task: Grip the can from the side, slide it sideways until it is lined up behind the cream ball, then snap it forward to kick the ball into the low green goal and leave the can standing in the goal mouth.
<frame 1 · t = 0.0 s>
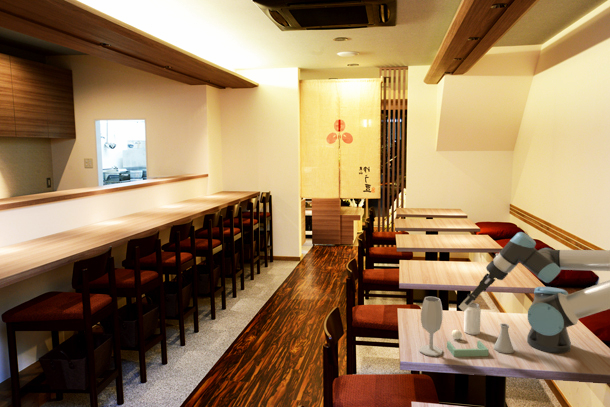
hand: (465, 304, 179), 15 cm above the table, tool tilted 35°, fingers open, 13 cm apart
can: (471, 332, 189), on the table
goal: (466, 351, 171), on the table
flask: (503, 350, 172), on the table
ball: (456, 334, 182), point 2 cm above the table
wineglass: (431, 352, 171), on the table
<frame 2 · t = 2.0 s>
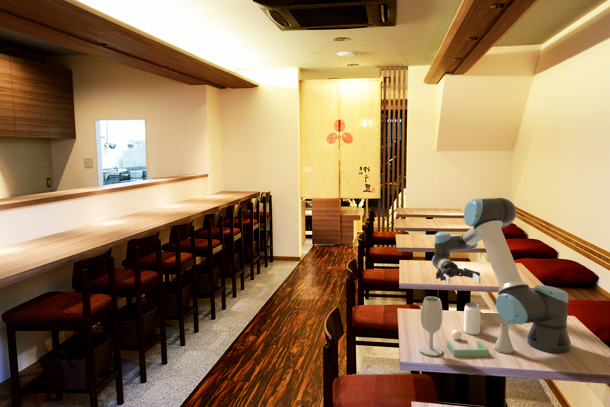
hand: (464, 280, 197), 20 cm above the table, tool horizontal, fingers open, 13 cm apart
nothing on the table moved.
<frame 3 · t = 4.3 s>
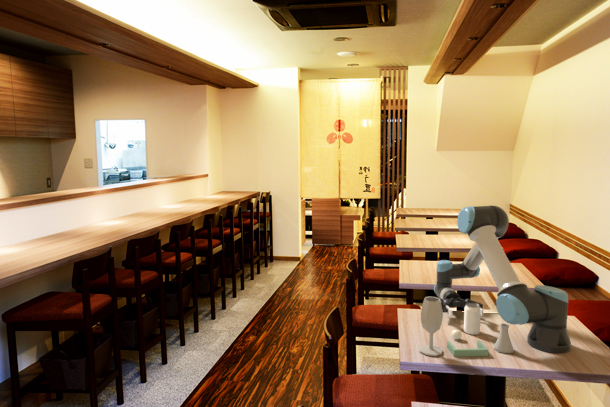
hand: (467, 313, 194), 6 cm above the table, tool horizontal, fingers open, 13 cm apart
nothing on the table moved.
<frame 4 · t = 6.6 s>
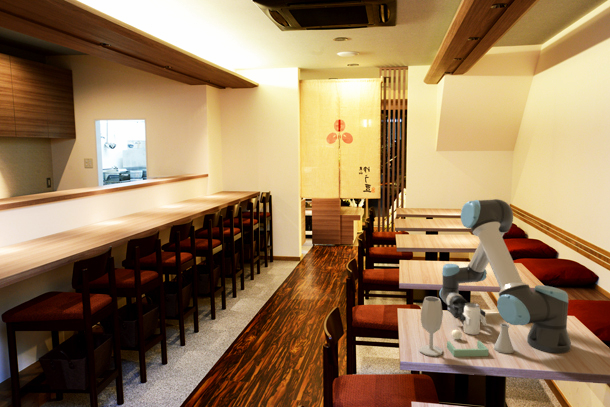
hand: (477, 321, 183), 7 cm above the table, tool horizontal, fingers closed on can, 6 cm apart
can: (471, 332, 189), on the table, touching gripper
everything else where it was.
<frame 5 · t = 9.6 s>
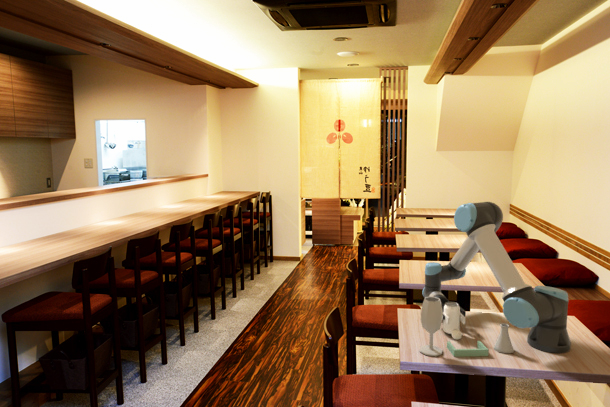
hand: (456, 320, 181), 8 cm above the table, tool horizontal, fingers closed on can, 6 cm apart
can: (451, 331, 187), point 1 cm above the table, touching ball, gripper
ball: (456, 334, 182), point 2 cm above the table, touching can
everything else where it was.
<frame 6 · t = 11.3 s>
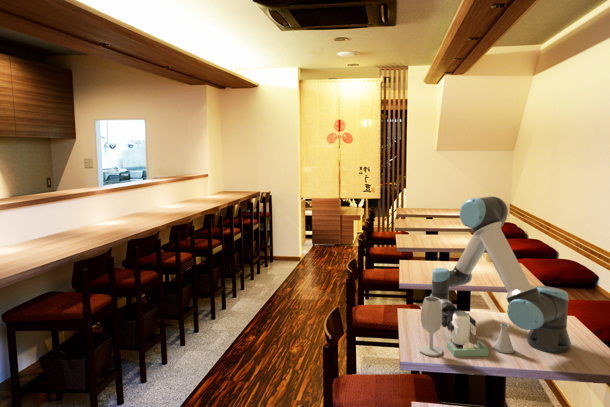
hand: (466, 331, 171), 8 cm above the table, tool horizontal, fingers closed on can, 6 cm apart
can: (460, 342, 177), point 1 cm above the table, touching gripper
ball: (468, 347, 170), point 2 cm above the table, tilted 9°
everything else where it was.
when the fingers open (8 cm above the table, at t = 13.0 s): can moves 5 cm, on the table.
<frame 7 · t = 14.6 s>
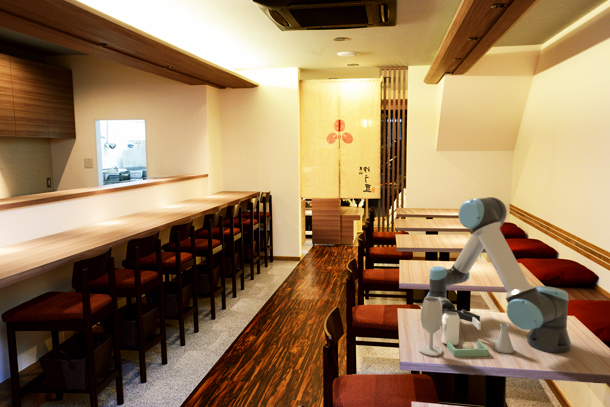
hand: (462, 326, 174), 8 cm above the table, tool horizontal, fingers open, 13 cm apart
can: (449, 343, 178), on the table, touching gripper
ball: (468, 347, 170), point 2 cm above the table, tilted 26°
everything else where it was.
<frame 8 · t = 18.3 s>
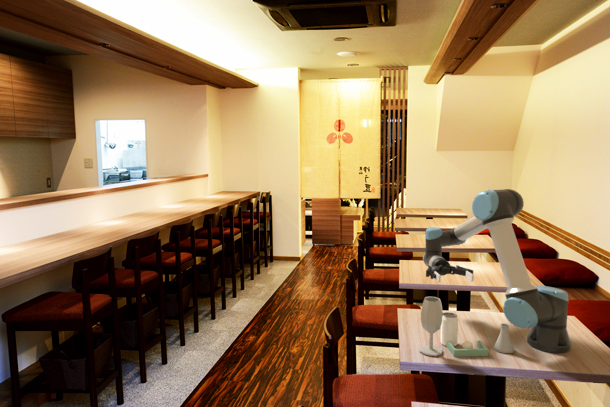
hand: (456, 278, 181), 25 cm above the table, tool horizontal, fingers open, 13 cm apart
can: (448, 344, 178), on the table
ball: (467, 346, 171), point 2 cm above the table, tilted 44°
everything else where it was.
at the end: ball 0.3 cm from the goal (horizontally); can tilted 1°; the gripper is holding nothing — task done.
